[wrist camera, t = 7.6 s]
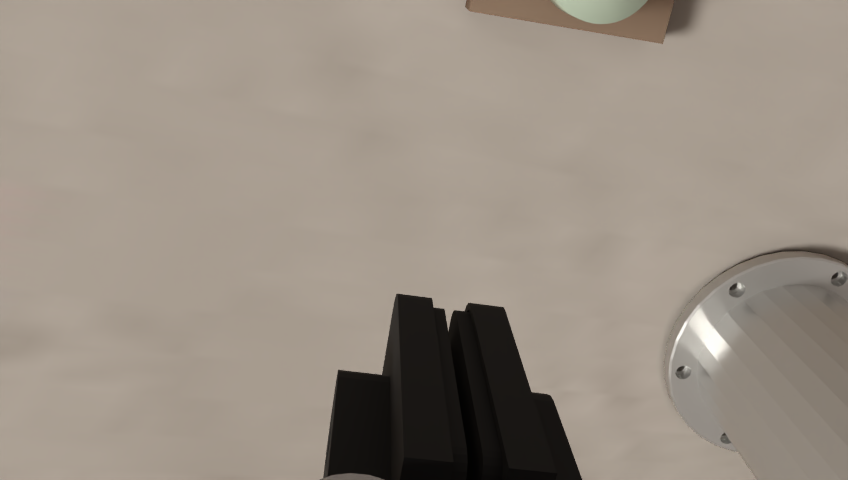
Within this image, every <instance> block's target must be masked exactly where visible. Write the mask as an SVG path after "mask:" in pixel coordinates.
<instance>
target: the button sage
mask: <svg viewBox="0 0 848 480" xmlns="http://www.w3.org/2000/svg"><path fill="white" fill-rule="evenodd" d="M550 1H551V2H552V3H553V4H554V5H555V6H556V7H557V8H559V9H560V10H561V11H563V12H565V13H567V14H569V15H571V16H573V17H576V18H578V19H580V20H583V21H585V22H589V23H593V24H609V23H614V22H618V21H621V20H623V19H625V18H627V17H629V16H631V15H632V14H634V13H635V12H636V11H638V10H639V9H640V8H641V7H642V6H643V5H644V4H645V3H646V2H647V1H648V0H550Z"/></svg>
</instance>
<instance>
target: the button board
mask: <svg viewBox="0 0 848 480" xmlns="http://www.w3.org/2000/svg"><path fill="white" fill-rule="evenodd" d="M673 4H674V0H648V1H647V2H646V3H645V4H644V5H643V6H642V7H641V8H640V9H639V10H638V11H636V12H635V13H634V14H632V15H631V16H629V17H627V18H625V19H623V20H621V21H618V22H614V23H609V24H593V23H589V22H585V21H583V20H580V19H578V18H576V17H573V16H571V15H569V14H567V13H565V12H563V11H561V10H560V9H559V8H557V7H556V6H555V5H554V4H553V3H552V2H551V1H550V0H467V1H466V8H467V9H468V10H469V11H472V12H478V13H484V14H489V15H495V16H501V17H507V18H513V19H519V20H525V21H531V22H537V23H543V24H549V25H555V26H561V27H567V28H572V29H578V30H584V31H590V32H596V33H602V34H608V35H614V36H620V37H626V38H632V39H638V40H644V41H650V42H655V43H661V44H663V41H664V37H665V33H666V30H667V26H668V22H669V19H670V15H671V11H672V8H673Z"/></svg>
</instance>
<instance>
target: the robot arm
mask: <svg viewBox="0 0 848 480" xmlns="http://www.w3.org/2000/svg"><path fill="white" fill-rule="evenodd" d="M664 379H665V383H666V387H667V391H668V394H669V397H670V399H671V401H672V402H673V404H674V406H675V408H676V410H677V412H678V413H679V414H680V416H681V417H682V419H683V420H684V422H685V423H686V424H687V426H689V427H690V428H691V429H692V430H693V431H694V432H695V433H696V434H698V435H699V436H700V437H701V438H703V439H705V440H707V441H708V442H710V443H712V444H714V445H716V446H719V447H722V448H725V449H728V450H731V451H736V452H738V453H739V454H740V456H741V457H742V459H743V460H744V462H745V463H746V465H747V466H748V468H749V469H750V470H751V472H752V473H753V475H754V476H755V478H756V479H757V480H848V265H847V264H846V263H844V262H842V261H840V260H837V259H834V258H832V257H829V256H827V255H823V254H817V253H811V252H805V251H793V252H778V253H773V254H768V255H763V256H759V257H756V258H754V259H751V260H748V261H746V262H743V263H740V264H738V265H736V266H734V267H733V268H731V269H729V270H727V271H726V272H724V273H722V274H720V275H719V276H717V277H716V278H715V279H714V280H712V281H711V282H710V283H709V284H707V285H706V286H705V287H704V288H702V289H701V290H700V291H699V292H698V293H697V294H696V296H695V297H694V298H693V299H692V300H691V301H690V302H689V303H688V304H687V306H686V307H685V308H684V310H683V312H682V313H681V315H680V316H679V318H678V320H677V321H676V323H675V324H674V327H673V329H672V332H671V334H670V337H669V339H668V342H667V347H666V352H665V358H664ZM320 480H582V478H581V475H580V473H579V470H578V467H577V464H576V462H575V459H574V456H573V453H572V451H571V448H570V445H569V442H568V439H567V437H566V434H565V431H564V428H563V426H562V423H561V420H560V417H559V415H558V412H557V409H556V406H555V404H554V401H553V399H552V397H551V396H550V395H548V394H541V393H532V392H531V390H530V386H529V383H528V380H527V377H526V374H525V371H524V368H523V365H522V362H521V358H520V355H519V352H518V349H517V346H516V343H515V340H514V337H513V334H512V330H511V327H510V324H509V321H508V318H507V315H506V312H505V309H504V307H497V306H489V305H481V304H473V303H468V304H467V306H466V309H465V312H464V311H456V310H454V312H453V314H452V317H451V322H450V327H449V332H448V328H447V322H446V316H445V310H444V309H440V308H433V302H432V298H426V297H418V296H411V295H403V294H396V298H395V302H394V307H393V313H392V319H391V325H390V331H389V337H388V343H387V349H386V355H385V361H384V367H383V373H382V375H377V374H369V373H360V372H351V371H343V370H338V374H337V380H336V387H335V394H334V401H333V408H332V415H331V422H330V429H329V437H328V444H327V452H326V460H325V469H324V477H323V479H320Z"/></svg>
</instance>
